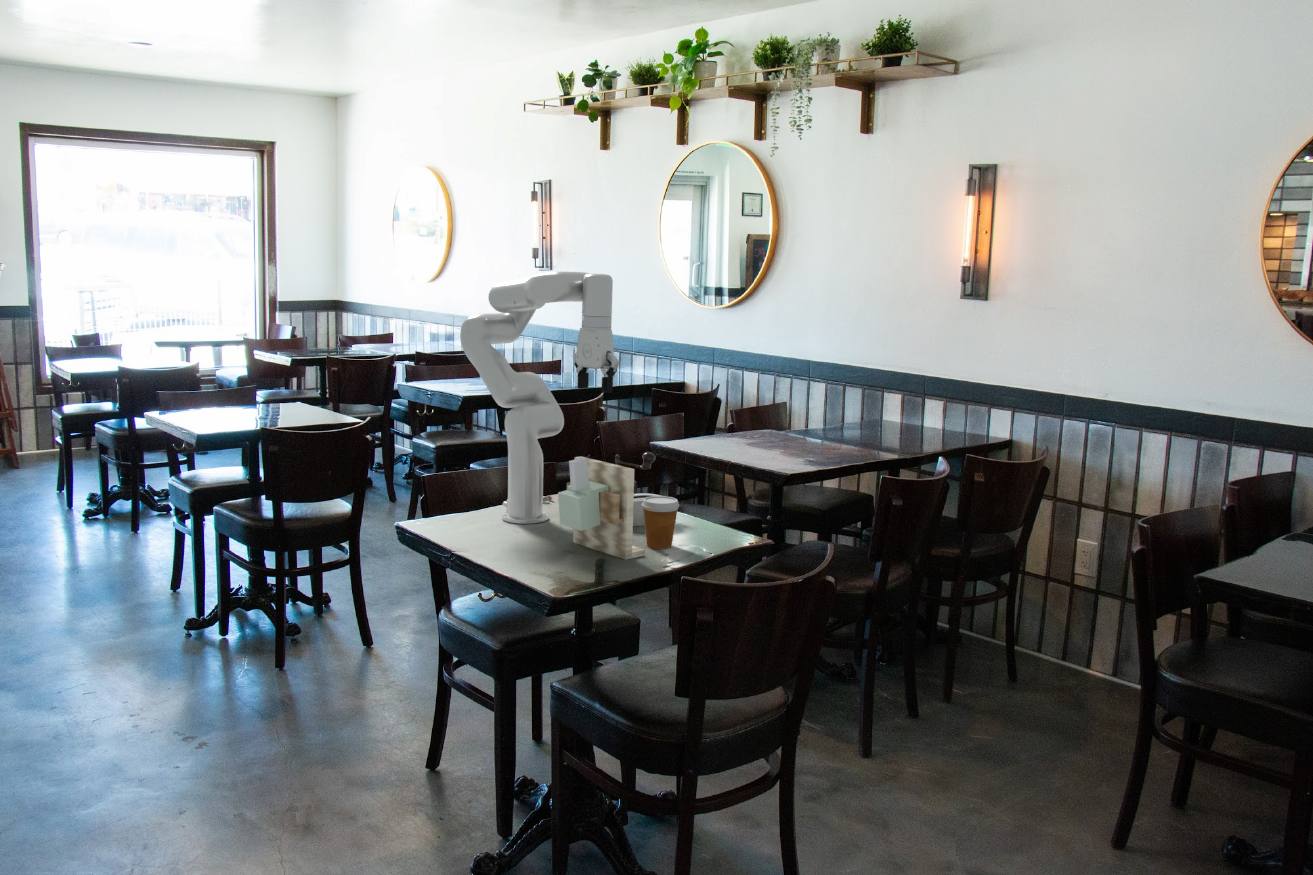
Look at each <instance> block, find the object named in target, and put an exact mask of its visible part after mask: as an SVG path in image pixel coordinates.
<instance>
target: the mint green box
mask: <svg viewBox="0 0 1313 875" xmlns="http://www.w3.org/2000/svg"><path fill="white" fill-rule="evenodd" d="M586 458H587V457H586ZM586 458H578V459H575V458H574V459H572V460H568V465H569V479H570V481H569V482H571V485H569V486H567V485H566V490H563V491H558V492H557V495H558V496H557V497H558V499H557V500H558V510H559V524H560V525H562V526H564V527H569V528H572V529H573V528H574V529H577V530H580V531H582V530H585V529H588V528H591V527H594V526H597V525H600V509H599V492H602V491H607V492H609V490H608V485H604V484H600V483H596V482H592V481H589V477H588V462H587V459H586ZM567 488H568V490H567Z"/></svg>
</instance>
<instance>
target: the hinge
mask: <svg viewBox="0 0 1313 875" xmlns="http://www.w3.org/2000/svg"><path fill="white" fill-rule="evenodd" d="M651 496H662V495H660V494H655V493H648V492H647V493H646V492H645V493H637V494H634V502H633V527H642V526H644V527H645V520H644V510H643V506H642V503H643V500H644V498H646V497H651Z"/></svg>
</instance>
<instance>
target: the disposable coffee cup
mask: <svg viewBox="0 0 1313 875" xmlns="http://www.w3.org/2000/svg"><path fill="white" fill-rule="evenodd" d="M642 506H643V510H644V520H645V526H644V527H645V528H644V529H645V540H646V546H647V548H650V549H654V550H667V549H671V548H672V546H673V540H674V534H675V528H676V521H677V516H678V515H677V513H678V509H679V507H680V504H679V501H678V499H677V498H675V497H673V496H666V495H661V496H651V497H646V498H644V500H643V503H642Z"/></svg>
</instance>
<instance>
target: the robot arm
mask: <svg viewBox="0 0 1313 875" xmlns="http://www.w3.org/2000/svg"><path fill="white" fill-rule="evenodd" d="M613 282H614V281H613V277H612V276H611V275H609V274H606V273H605V274H604V273H589V272H586V271H585V272H584V271H553V272H546V273H541V274H535V275H532V276H530V277H525V278H520V279H513V280H507V281H502V282H499V283H497V284H495V285H493V286H492V287H491V288H490V290H489V291H488V292H489V293H488V303H489V305H490V306H491V307H492V308H493V309H494V310H495V311H497V312H498V313H478V314H474V315H470V316H469V317H467V318H466V319H465V320H463V322H462V324H461V328H460V332H459V333H460V336H459V338H460V343H461V348H462V350H463V353H464V355H465V356H466V357H467V359H468V360H469V361H470V363H471V364H472V365H473V367H474V368H475V370H476V371H477V373H478V374H479V376H480V378H481V379H482V381H483V382H484V383H483V384H485V386H486V388H487V389H488V392H489V393H490V395H491V397H492V399H493V400H494V401H495V403H496V404H497V405H498V406H500V407H501V408H506V409H509V408H510V410H509V411H508V412H507V413H506V415H505V418H504V430H505V435H506V436H505V437H506V440H507V461H508V462H507V473H508V475H507V477H508V478H507V499H506V501H503V502H502V506H503V507H505V508H506V511H505V512H503V513H502V514H501V519H502V520H503V521H505V522H508V523H511V524H523V525H525V524H527V525H528V524H530V525H531V524H538V523H543V522H546V521H547V520H548V519H549V514H548V513H547V512H546V511H543V509H544V508H543V507H544V505H543V504H544V501H543V500H544V453H543V450H542V448H541V445H540V442H539V440H538V439H542V438H549V437H553V436H556V435H558V434H559V433H560V432H562V430H563V428H564V425H565V417H564V413H563V411H562V409H561V407H560V405H559V403H558V401H557V400H556V399H555V396H554V394H553V393H552V392H551V390H550V389H549V386H548V385H547V384H546V382H545V381H544V379H543V378H542V377H540V376H539V374H537V373H535V372H532V371H519V372H518V371H516V370H514V369H513V368H512V367H511V364H509V362H508V360H507V358H506V357H505V355H503V354H502V353H501V352H500V351H499V350H497V349H496V348H495V347H494V346H493V345H501V344H510V343H513V342H515V341H517V340H518V339H519V338H520V337H521V335H522V334H523V333H524V330H526V328H527V325H528V324H529V323H530V321H531V319H532V317H533V316H534V314H535V312H537V311H536V310H538V309H541V308H543V307H544V306H545V305H546V304H550V303H562V302H563V303H564V302H576V303H577V302H581V303H582V305H581V327H580V328H579V332H578V337H577V343H576V352H575V353H574V354H572V358H573V362H574V367H575V372H576V373H577V383H576V384H577V389H588V388H589V378H590V377H589V376H590V375H589V372H588V371H589V369H592V370H593V369H594V370H599V369H600V371H601V374H602V376H601V393H602V394H608V393H609V394H610V393H611V394H612V393H613V391H614V387H613V386H614V378H615V376H616V373H617V372H618V368H619V365H620V360H619V359H618V357H616V356H615V355H614V354H615V353H614V352H615V351H614V350H615V348H614V336H613V335H614V334H613V329H612V316H613V315H612V313H613V285H614V284H613Z"/></svg>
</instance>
